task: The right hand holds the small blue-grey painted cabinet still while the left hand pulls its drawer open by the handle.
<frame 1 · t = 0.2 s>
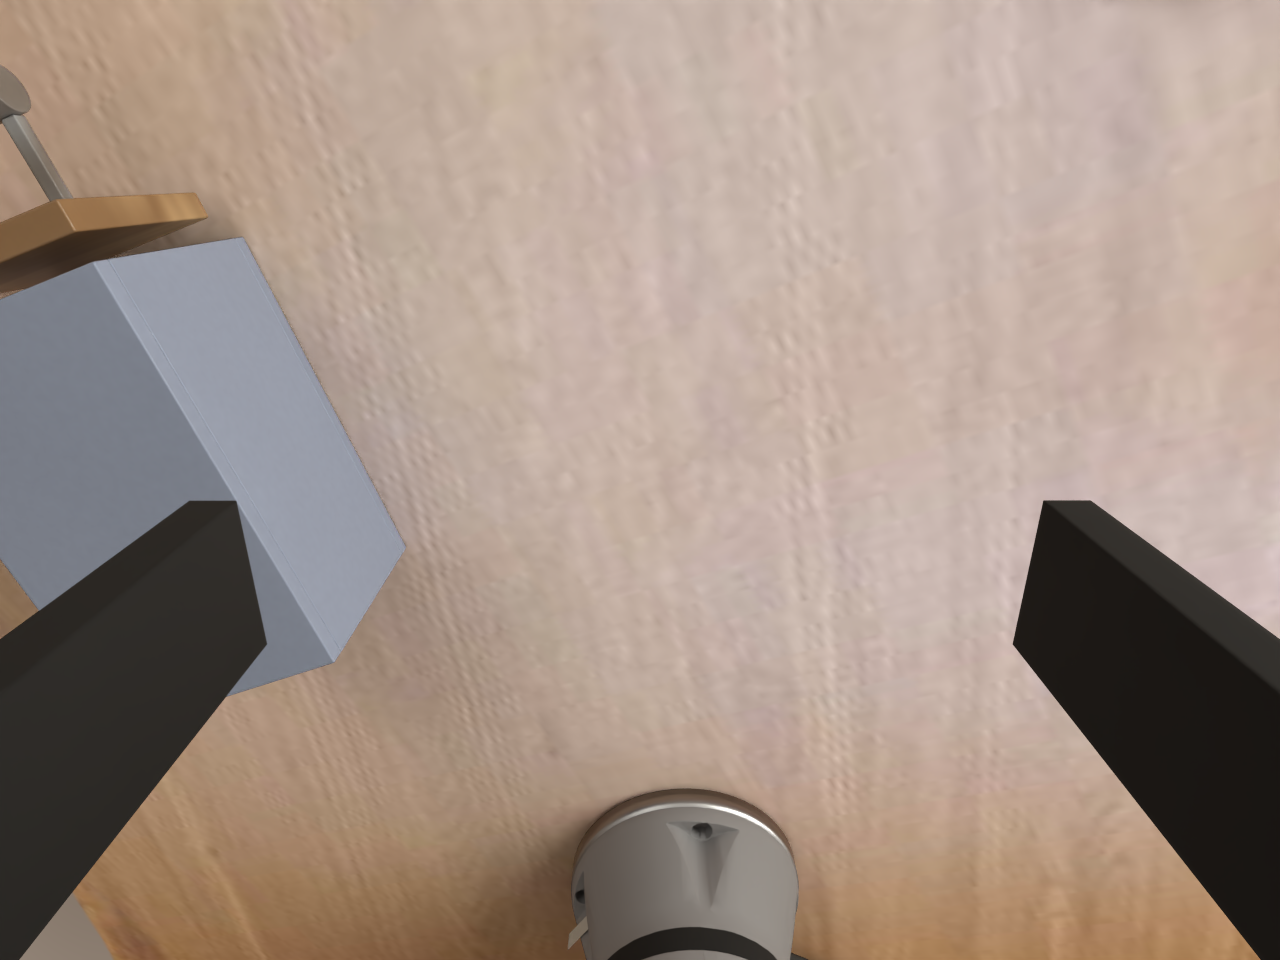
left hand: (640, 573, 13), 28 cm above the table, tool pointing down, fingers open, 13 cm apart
cabinet: (243, 435, 41), on the table
drawer: (117, 361, 34), point 6 cm above the table, slide at 1.2 cm
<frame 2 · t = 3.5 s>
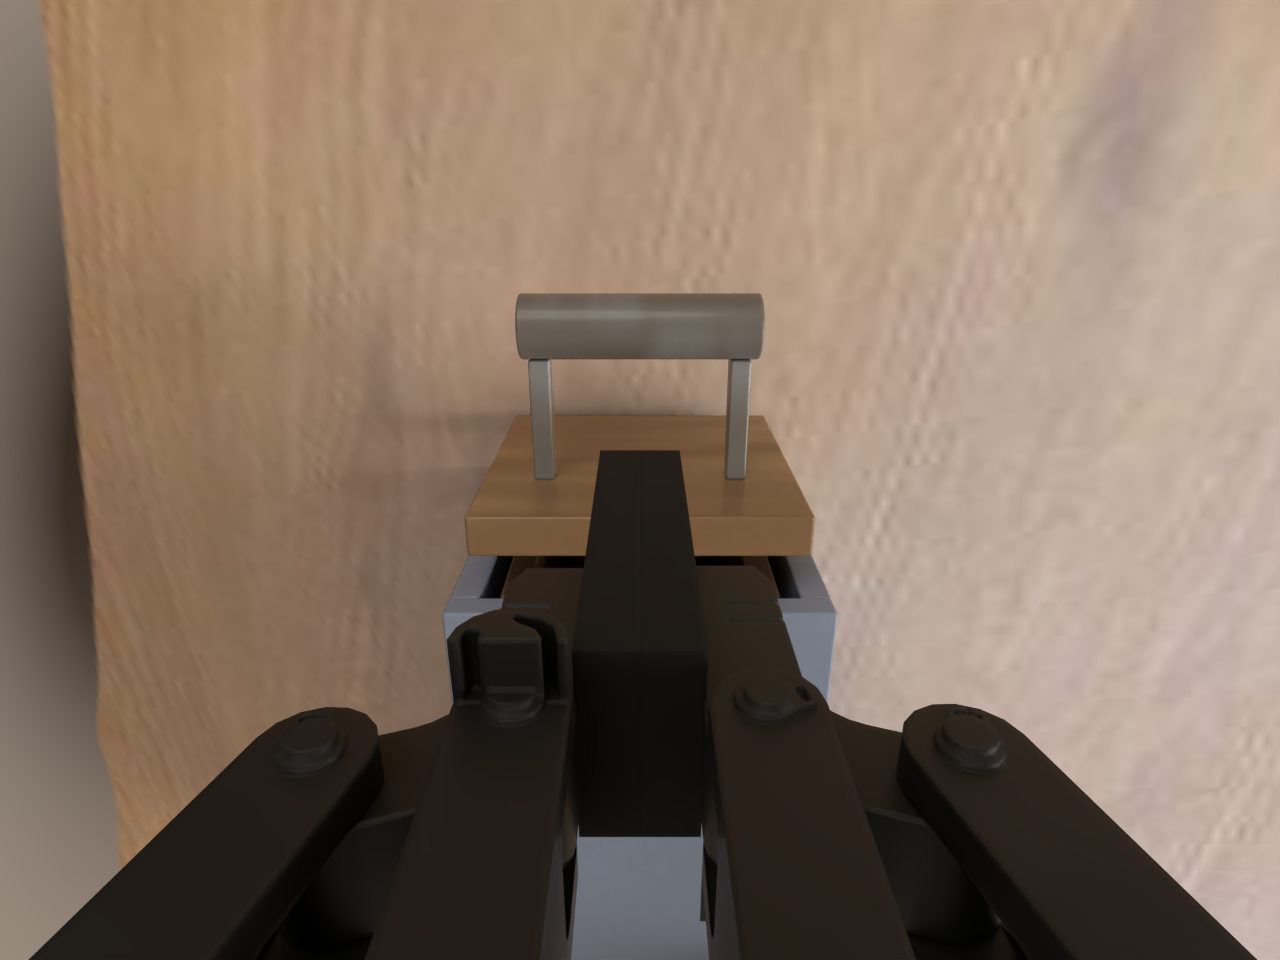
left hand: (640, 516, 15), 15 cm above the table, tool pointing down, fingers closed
cabinet: (640, 655, 34), on the table, touching right hand
drawer: (639, 610, 27), point 6 cm above the table, slide at 1.2 cm
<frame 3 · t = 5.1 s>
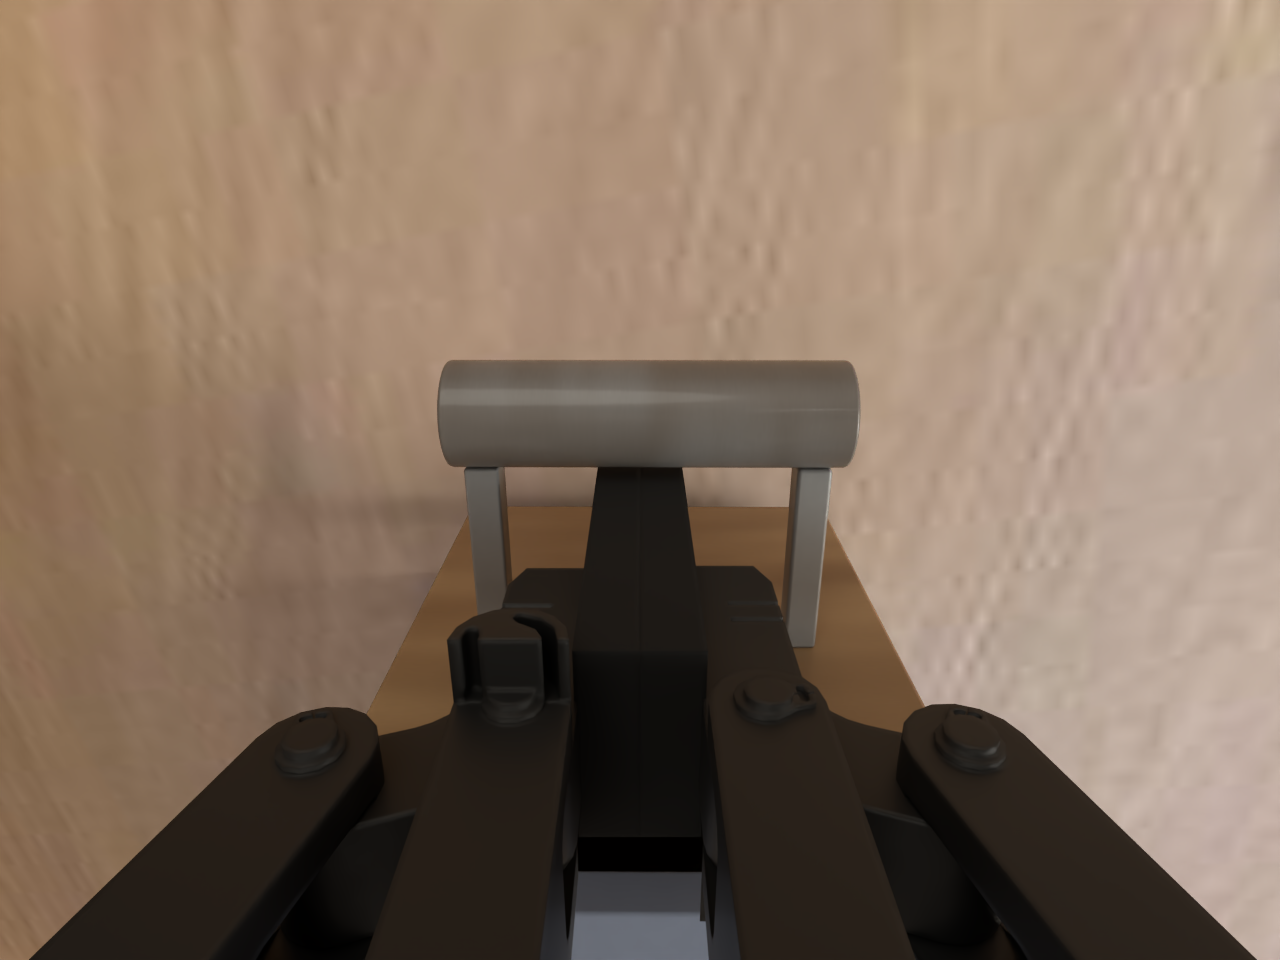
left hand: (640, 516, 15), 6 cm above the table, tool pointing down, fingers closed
cabinet: (645, 807, 26), on the table, touching right hand
drawer: (646, 802, 18), point 6 cm above the table, slide at 1.3 cm
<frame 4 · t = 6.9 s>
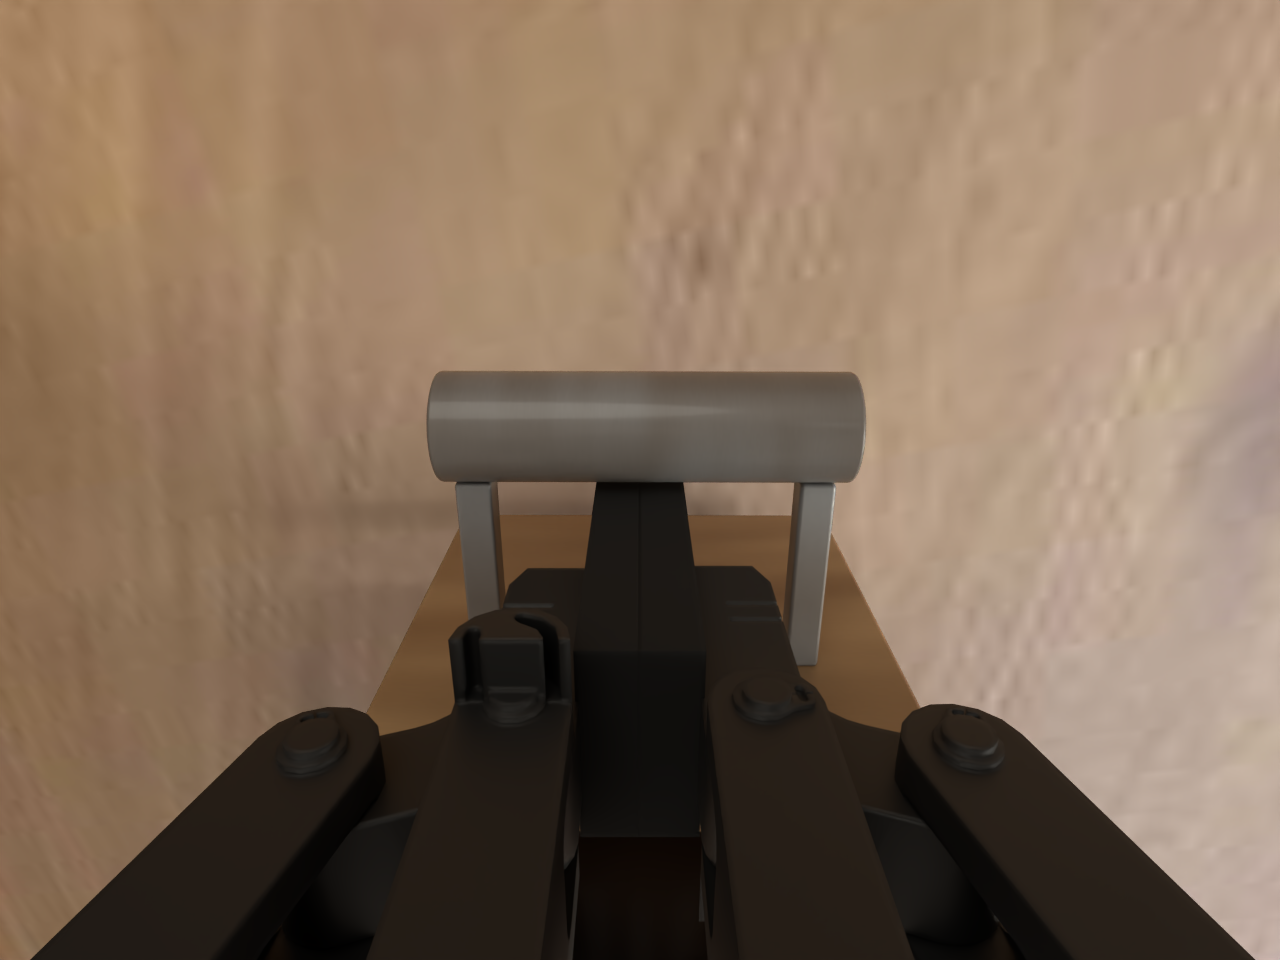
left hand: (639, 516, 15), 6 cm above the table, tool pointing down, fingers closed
drawer: (643, 818, 18), point 6 cm above the table, slide at 8.9 cm, touching left hand
when the right hand's fingers open (6 cm above the table, at t = 8.5 s): cabinet stays where it is, on the table.
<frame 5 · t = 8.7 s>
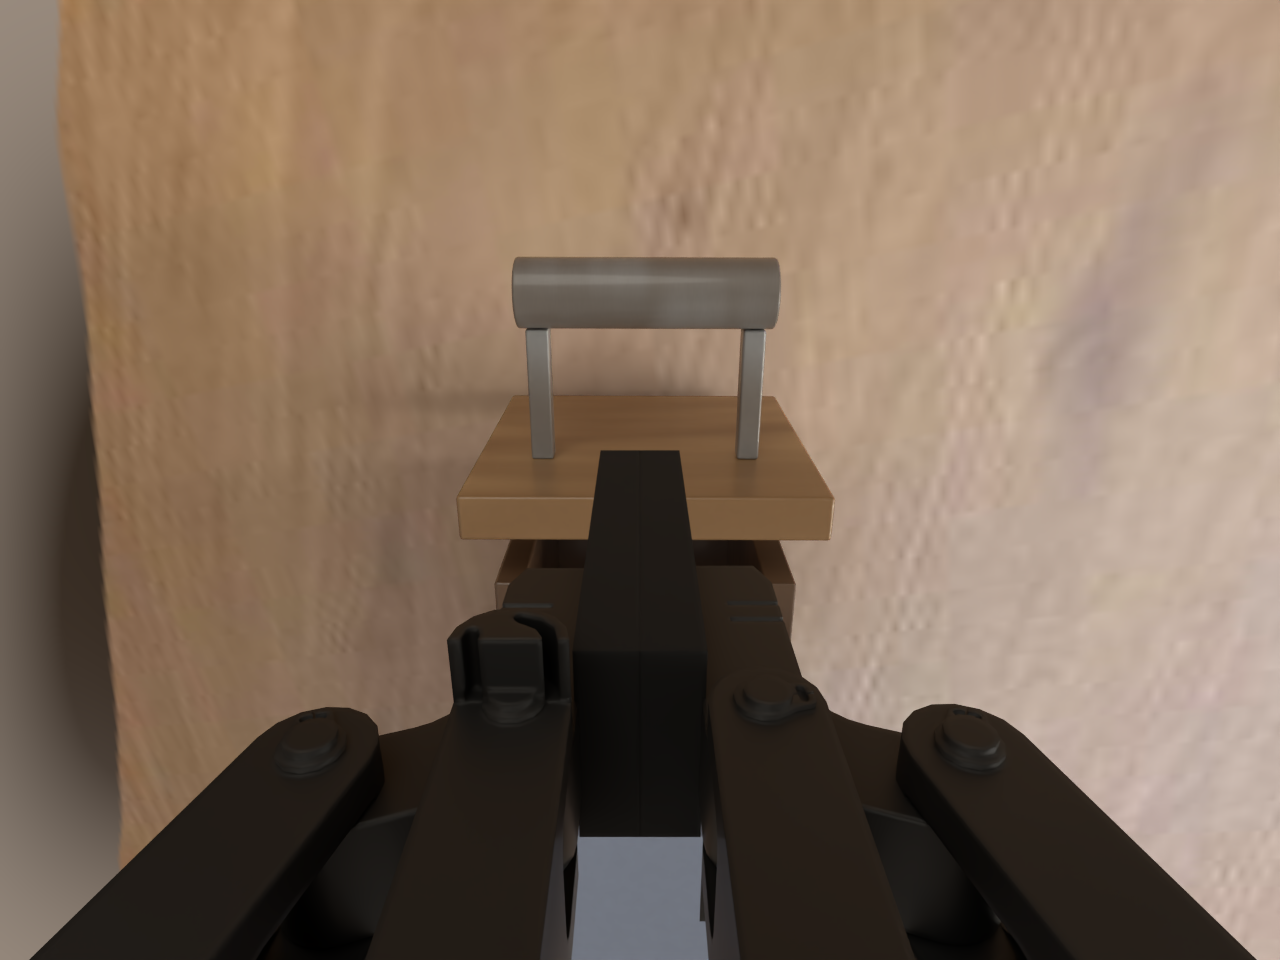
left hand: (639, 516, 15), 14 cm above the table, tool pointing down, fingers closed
cabinet: (641, 790, 35), on the table
drawer: (643, 601, 25), point 6 cm above the table, slide at 8.9 cm
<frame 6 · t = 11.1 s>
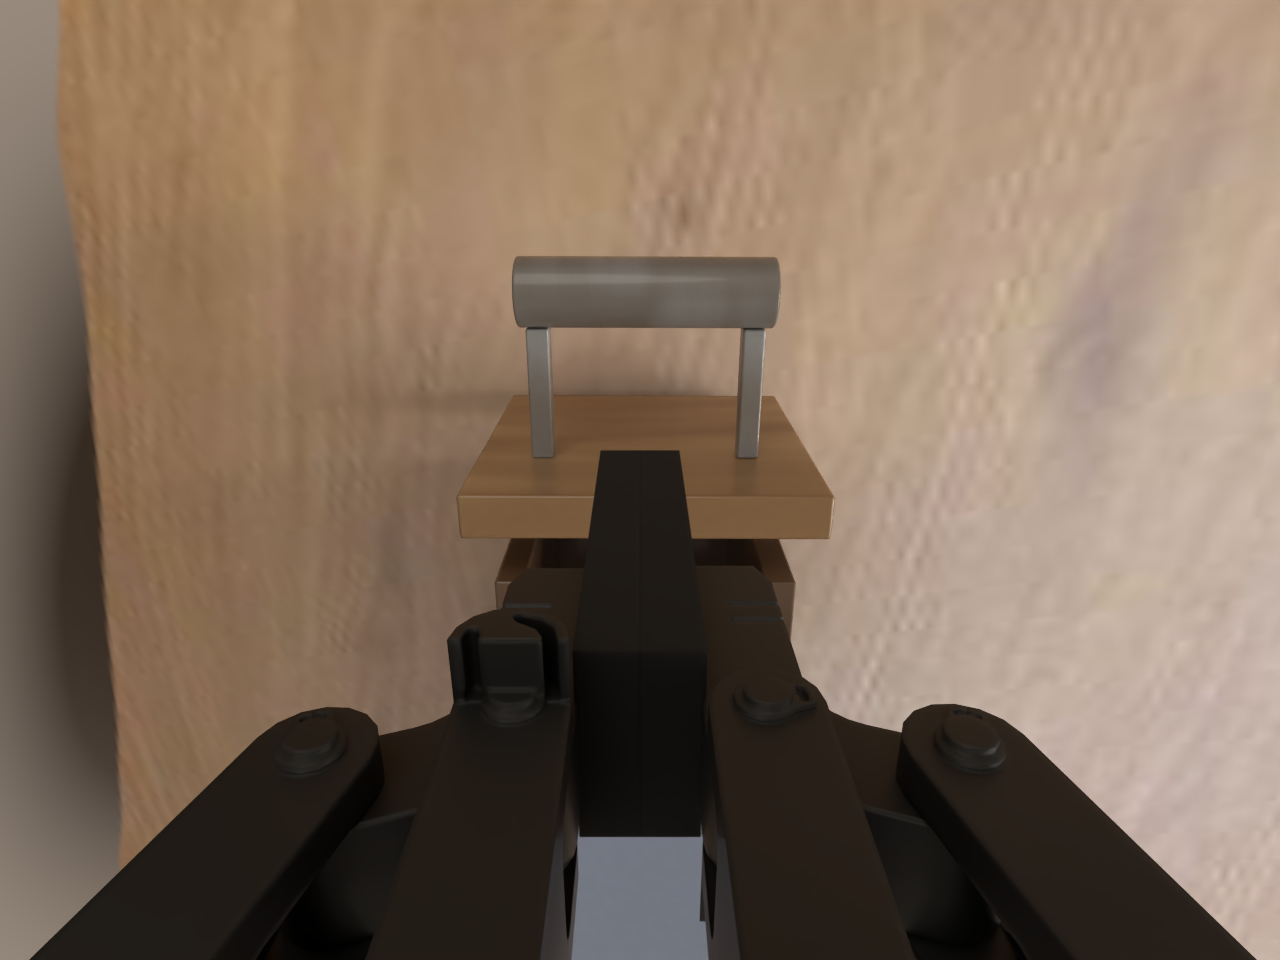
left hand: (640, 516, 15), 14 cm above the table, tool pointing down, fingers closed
cabinet: (641, 790, 35), on the table
drawer: (643, 600, 25), point 6 cm above the table, slide at 8.9 cm
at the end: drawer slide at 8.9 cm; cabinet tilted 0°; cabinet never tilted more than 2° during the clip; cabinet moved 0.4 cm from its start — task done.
